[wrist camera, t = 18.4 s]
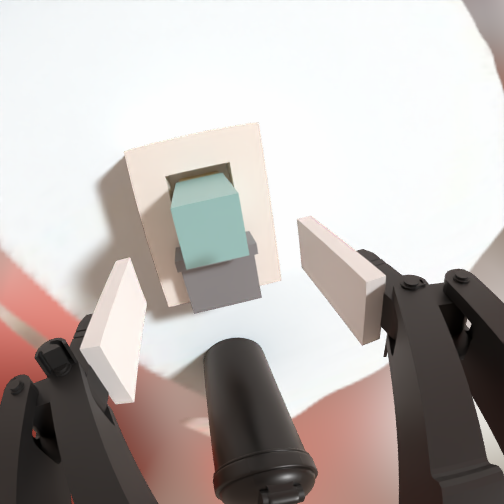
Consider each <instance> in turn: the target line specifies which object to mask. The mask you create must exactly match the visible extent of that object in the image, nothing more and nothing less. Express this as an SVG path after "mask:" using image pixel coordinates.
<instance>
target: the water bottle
mask: <svg viewBox="0 0 504 504" xmlns="http://www.w3.org/2000/svg"><path fill="white" fill-rule="evenodd" d="M204 374H205V386H206V397H207V406H208V417H209V426H210V435H211V443H212V452H213V460H214V467H215V473H214V476H213V484H214V490H215V494H216V497H217V498H218V499H220V500H222V502H223V503H224V504H297V503H300V502H303V501H304V499H305V496H306V495H307V494H308V493H309V492H310V491H311V489H312V488H313V486H314V483H315V479H316V477H317V475H318V471H317V468H316V466H315V464H314V461H313V459H312V457H311V456H310V455H309V453H307V452H306V451H305V449H304V447H303V444H302V442H301V440H300V438H299V435H298V433H297V431H296V428H295V426H294V424H293V422H292V419H291V417H290V414H289V412H288V410H287V407H286V405H285V403H284V400H283V398H282V396H281V393H280V391H279V389H278V386H277V384H276V381H275V379H274V377H273V374H272V372H271V369H270V367H269V365H268V362H267V360H266V357H265V355H264V352H263V350H262V348H261V347H260V346H259V345H258V344H257V343H256V342H254V341H252V340H249V339H245V338H230V339H226V340H223V341H220V342H218V343H217V344H215V345H213V346H212V347H211V348H210V349H209V350H208V351H207V353H206V355H205V357H204Z"/></svg>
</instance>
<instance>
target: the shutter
mask: <svg viewBox="0 0 504 504" xmlns="http://www.w3.org/2000/svg"><path fill="white" fill-rule="evenodd" d="M245 233H246V238H247V244H248V250H249V255H248V256H244V257H240V258H235V259H231V260H227V261H222V262H218V263H214V264H210V265H205V266H201V267H197V268H192V269H188V270H187V269H186V266H185V262H184V258H183V255H182V251H181V247H176V249H175V265H176V269H177V272H182V276H183V279H184V282H185V286H186V289H187V292H188V296H189V299H190V302H191V305H192V308H193V311H194V314H195V313H199V312H203V311H208V310H212V309H216V308H221V307H225V306H229V305H233V304H238V303H242V302H246V301H250V300H254V299H258V298H262V296H261V291H260V285H259V279H258V273H257V267H256V261H255V255H256V254H258V249H257V243H256V242H255V240H254V238H253V236H252V235H251V233H250V231H246V232H245Z"/></svg>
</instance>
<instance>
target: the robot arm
mask: <svg viewBox="0 0 504 504" xmlns="http://www.w3.org/2000/svg"><path fill="white" fill-rule="evenodd" d="M297 224H298V234H299V244H300V254H301V264H302V268H303V270H304V271H305V272H306V273H307V275H308V276H309V277H310V279H311V280H312V281H313V282H314V284H315V285H316V286H317V287H318V289H319V290H320V291H321V293H322V294H323V295H324V296H325V298H326V299H327V300H328V302H329V303H330V304H331V305H332V307H333V308H334V309H335V311H336V312H337V313H338V315H339V316H340V317H341V318H342V320H343V321H344V322H345V324H346V325H347V326H348V328H349V329H350V330H351V332H352V333H353V334H354V336H355V337H356V338H357V339H358V341H359V342H360V343H361V345H365V344H368V343H370V342H373V341H375V340H378V339H380V332H381V327H382V328H383V329H384V330H385V331H386V332H387V338H386V345H385V351H384V357H386V356H387V352H388V358H389V365H390V371H391V379H392V386H393V394H394V404H395V414H396V427H397V441H398V460H399V504H504V474H503V472H502V470H501V469H500V468H499V466H497V465H493V464H490V463H489V462H488V460H487V456H486V452H485V446H484V442H483V438H482V433H481V429H480V425H479V420H478V417H477V413H476V409H475V405H474V402H473V399H474V400H475V402H476V404H477V406H478V407H479V409H480V411H481V413H482V414H483V416H484V418H485V420H486V422H487V423H488V425H489V427H490V429H491V431H492V433H493V435H494V436H495V439H496V440H497V442H498V444H499V447H500V449H501V451H502V452H503V455H504V303H503V302H502V301H501V300H500V299H499V298H498V297H497V296H496V295H495V294H494V293H493V292H492V291H491V290H489V289H488V288H487V287H486V286H485V285H484V284H483V283H482V282H481V281H480V280H479V279H478V278H477V277H476V276H474V275H473V274H472V273H470V272H468V271H466V270H464V269H453V270H450V271H448V272H447V273H446V274H445V279H444V283H438V284H430V285H429V284H428V283H427V281H426V280H425V279H423V278H421V277H419V276H415V275H403V276H402V275H401V274H400V273H398V272H397V271H396V270H395V269H393V268H392V267H391V266H390V265H388V264H386V263H385V262H384V261H383V260H382V259H380V258H379V257H378V256H377V255H375V254H374V253H372V252H369V251H367V250H364V249H362V250H358V251H355V250H354V249H353V248H352V247H350V246H349V245H348V244H347V243H345V242H344V241H343V240H342V239H340V238H339V237H338V236H337V235H335V234H334V233H333V232H331V231H330V230H329V229H328V228H326V227H325V226H324V225H322V224H321V223H320V222H318V221H317V220H316V219H314V218H313V217H312V216H308V217H304V218H299V219H297ZM146 307H147V302H146V300H145V297H144V295H143V292H142V289H141V287H140V284H139V281H138V278H137V276H136V273H135V270H134V267H133V264H132V261H131V258H130V257H129V258H125V259H121V260H117V261H116V262H115V264H114V266H113V269H112V271H111V273H110V275H109V277H108V280H107V282H106V284H105V286H104V289H103V291H102V293H101V296H100V298H99V300H98V303H97V305H96V308H95V310H94V313H93V314H89V315H86V316H85V317H84V318H83V320H82V321H81V322H80V323H79V325H78V327H77V330H76V333H75V335H74V339H73V340H72V342H71V345H70V347H69V346H68V344H67V342H66V340H65V339H62V338H54V339H51V340H49V341H47V342H46V343H44V344H43V345H42V346H41V347H40V348H39V349H38V350H37V352H36V354H35V359H36V361H37V362H38V364H39V365H40V367H41V368H42V369H43V371H44V372H45V374H46V375H47V378H46V379H44V380H41V381H39V382H36V383H33V382H32V381H31V379H30V378H29V376H27V375H18V376H16V377H14V378H13V379H11V380H10V381H9V383H8V384H7V385H6V388H5V390H4V393H3V397H2V401H1V404H0V504H72V503H71V495H72V498H73V501H74V504H158V502H157V501H156V499H155V497H154V496H153V494H152V492H151V490H150V489H149V487H148V485H147V484H146V481H145V479H144V478H143V476H142V474H141V472H140V470H139V468H138V466H137V464H136V462H135V460H134V458H133V456H132V454H131V452H130V450H129V448H128V446H127V444H126V441H125V439H124V437H123V435H122V433H121V430H120V428H119V426H118V423H117V421H116V418H115V416H114V414H113V411H112V410H111V408H110V407H109V406H108V404H107V401H108V395H110V397H111V398H112V400H113V401H114V402H115V404H123V403H131V402H134V399H135V389H136V379H137V370H138V362H139V354H140V347H141V340H142V333H143V326H144V320H145V313H146ZM467 318H468V320H469V321H470V322H471V327H470V329H469V328H468V327H467V326H466V322H467ZM472 397H473V398H472ZM32 429H34V431H36V437H35V438H34V437H33V436H32Z"/></svg>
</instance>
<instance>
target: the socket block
mask: <svg viewBox="0 0 504 504" xmlns="http://www.w3.org/2000/svg"><path fill="white" fill-rule="evenodd" d="M124 154H125V159H126V163H127V167H128V172H129V176H130V180H131V184H132V188H133V192H134V196H135V200H136V203H137V207H138V211H139V214H140V218H141V222H142V225H143V229H144V232H145V235H146V239H147V242H148V245H149V249H150V252H151V255H152V258H153V262H154V265H155V268H156V271H157V274H158V277H159V280H160V283H161V286H162V289H163V292H164V295H165V297H166V300H167V303H168V306H169V307H171V306H176V305H180V304H185V303H189V302H190V299H189V296H188V292H187V289H186V286H185V282H184V279H183V276H182V272H177V269H176V265H175V249H176V247H180V244H179V240H178V236H177V232H176V229H175V225H174V221H173V217H172V213H171V209H170V208H171V203H172V198H173V194H174V189H175V185H176V183H177V182H179V179H182V178H186V177H191V176H195V175H199V174H204V173H209V172H213V171H218V172H219V173H223V174H224V175H225V177H226V178H227V179H228V180H229V182H230V183H231V184H232V186H233V187H234V188H235V189H236V191H237V192H238V193H239V199H240V205H241V210H242V216H243V221H244V227H245V232H246V231H250V233H251V235H252V236H253V238H254V240H255V242H256V243H257V249H258V254H256V255H255V261H256V267H257V273H258V279H259V285H260V286H261V285H265V284H269V283H273V282H277V281H281V274H280V266H279V259H278V251H277V244H276V236H275V229H274V222H273V215H272V208H271V201H270V194H269V187H268V180H267V174H266V167H265V160H264V154H263V147H262V141H261V135H260V128H259V122H257V123H247V124H241V125H235V126H229V127H224V128H218V129H213V130H208V131H203V132H198V133H194V134H189V135H184V136H180V137H176V138H171V139H167V140H163V141H159V142H155V143H151V144H148V145H144V146H140V147H137V148H133V149H130V150H127V151H124Z"/></svg>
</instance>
